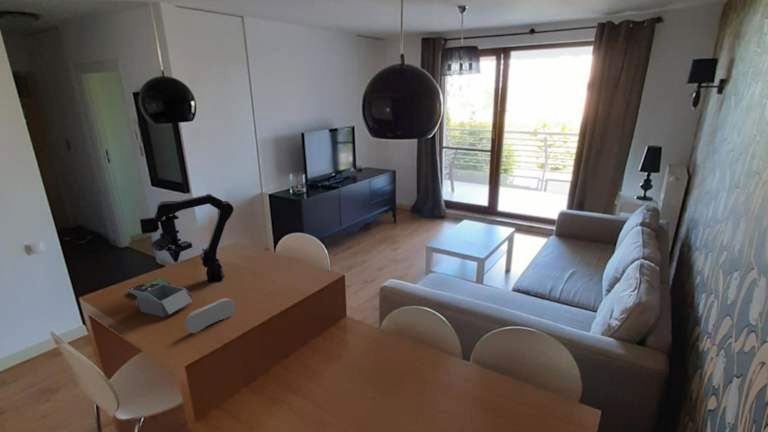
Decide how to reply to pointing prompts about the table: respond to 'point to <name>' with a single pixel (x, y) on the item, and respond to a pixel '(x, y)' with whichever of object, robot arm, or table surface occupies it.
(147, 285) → the disk drive
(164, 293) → the grey open storage bin
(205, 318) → the grey rounded flat bar
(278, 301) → the table surface
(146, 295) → the flap
